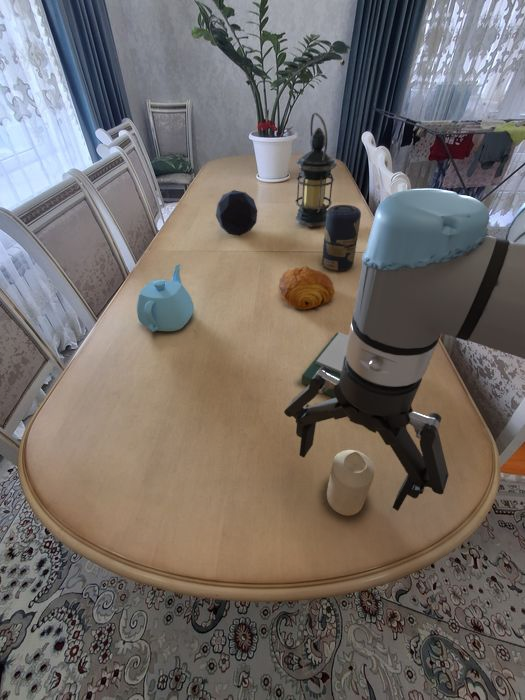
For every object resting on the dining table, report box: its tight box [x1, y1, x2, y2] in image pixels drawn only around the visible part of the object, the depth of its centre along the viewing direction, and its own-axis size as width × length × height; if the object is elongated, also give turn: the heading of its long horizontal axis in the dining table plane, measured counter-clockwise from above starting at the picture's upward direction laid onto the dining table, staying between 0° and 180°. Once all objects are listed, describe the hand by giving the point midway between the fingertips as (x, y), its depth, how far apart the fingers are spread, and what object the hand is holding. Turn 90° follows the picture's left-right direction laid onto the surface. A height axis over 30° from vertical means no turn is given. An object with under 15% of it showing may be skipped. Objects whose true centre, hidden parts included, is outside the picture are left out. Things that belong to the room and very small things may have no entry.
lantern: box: [294, 112, 337, 228], centre depth 120 cm, size 14×13×35 cm
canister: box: [321, 204, 362, 272], centre depth 101 cm, size 10×10×18 cm
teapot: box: [136, 264, 195, 333], centre depth 85 cm, size 13×11×18 cm
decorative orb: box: [215, 189, 258, 237], centre depth 122 cm, size 14×15×15 cm
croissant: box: [278, 266, 335, 310], centre depth 92 cm, size 14×16×8 cm
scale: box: [301, 332, 349, 398], centre depth 71 cm, size 14×16×3 cm
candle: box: [326, 449, 375, 516], centre depth 49 cm, size 6×6×10 cm
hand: (349, 473), depth 48 cm, fingers open, 13 cm apart
